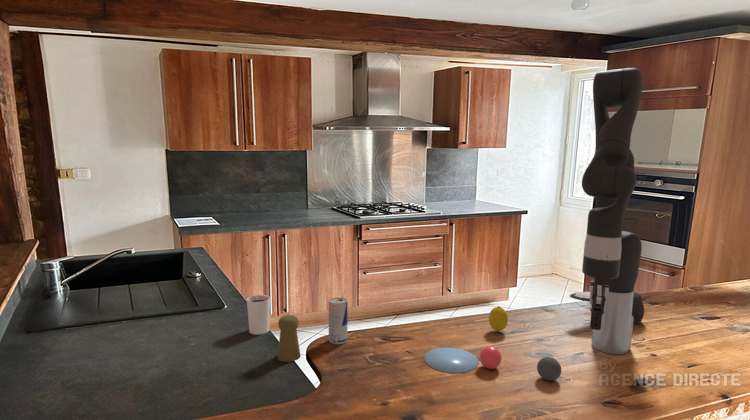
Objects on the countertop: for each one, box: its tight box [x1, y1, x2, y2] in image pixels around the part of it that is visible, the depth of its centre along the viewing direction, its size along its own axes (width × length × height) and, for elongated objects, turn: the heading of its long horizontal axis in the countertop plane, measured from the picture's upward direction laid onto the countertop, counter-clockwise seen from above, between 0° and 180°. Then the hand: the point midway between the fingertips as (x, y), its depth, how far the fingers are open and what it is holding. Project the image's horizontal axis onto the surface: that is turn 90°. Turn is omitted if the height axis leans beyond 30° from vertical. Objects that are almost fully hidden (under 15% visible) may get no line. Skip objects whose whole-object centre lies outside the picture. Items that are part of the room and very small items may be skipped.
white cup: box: [246, 294, 271, 336], centre depth 142 cm, size 7×7×10 cm
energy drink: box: [328, 297, 348, 346], centre depth 135 cm, size 5×5×12 cm
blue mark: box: [423, 347, 479, 374], centre depth 125 cm, size 14×14×1 cm
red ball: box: [478, 345, 502, 370], centre depth 120 cm, size 6×6×6 cm
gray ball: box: [536, 356, 562, 382], centre depth 115 cm, size 6×6×6 cm
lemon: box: [488, 305, 509, 333], centre depth 143 cm, size 6×6×8 cm
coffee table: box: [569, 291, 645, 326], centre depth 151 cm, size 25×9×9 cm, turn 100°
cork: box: [276, 314, 301, 363], centre depth 125 cm, size 6×6×11 cm
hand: (595, 328), depth 109 cm, fingers closed
